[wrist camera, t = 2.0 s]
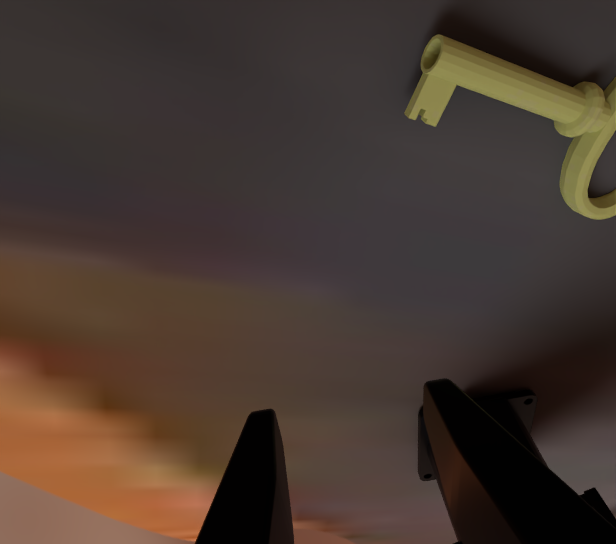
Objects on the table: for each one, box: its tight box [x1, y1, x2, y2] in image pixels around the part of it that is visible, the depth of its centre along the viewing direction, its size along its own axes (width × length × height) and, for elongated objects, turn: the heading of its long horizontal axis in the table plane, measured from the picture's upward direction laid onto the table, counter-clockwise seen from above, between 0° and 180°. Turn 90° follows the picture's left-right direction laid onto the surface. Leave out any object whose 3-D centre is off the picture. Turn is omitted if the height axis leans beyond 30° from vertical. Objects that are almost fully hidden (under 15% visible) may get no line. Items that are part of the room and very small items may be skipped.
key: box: [404, 34, 616, 220], centre depth 19 cm, size 7×12×2 cm, turn 88°
